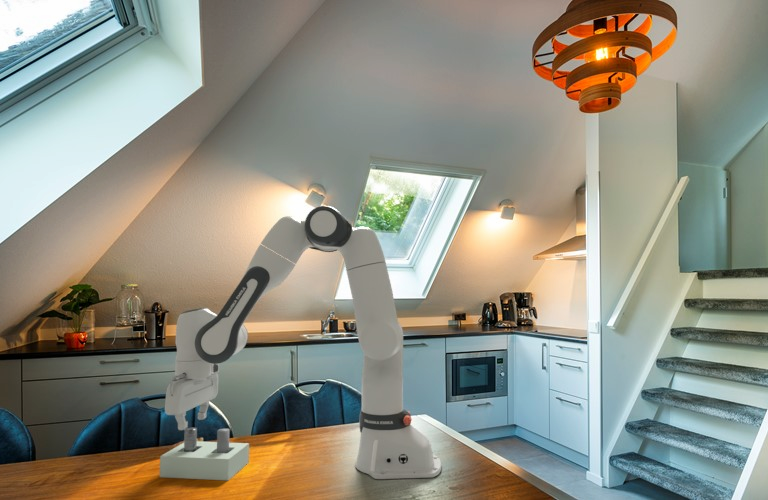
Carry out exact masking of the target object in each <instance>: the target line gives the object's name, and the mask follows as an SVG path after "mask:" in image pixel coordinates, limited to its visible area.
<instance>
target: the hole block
mask: <svg viewBox="0 0 768 500" xmlns="http://www.w3.org/2000/svg"><path fill="white" fill-rule="evenodd" d="M216 434H217V435H216V441H204V442H202V441H197V446H196V451H195V452H184V443H182V444H180V445H179V446H177V447H175V448H174V449H172V450H170V451H169V450H168V451H167V452H165V453H164V454H163V453H162V454H161V455H160V456H159V478H167V479H168V478H169V479H170V478H171V479H173V478H174V479H190V480H214V481H230V480H231V479H232V478H233V477H234V476H235V475H236V474H237V473H239V472H240V471H241V470H242V469H243V468H244V467H245V466H247V465H248V464H249V462H250V443H248V442H245V443H244V442H230V428H219V429H218V430H217V431H216ZM246 464H247V465H246Z"/></svg>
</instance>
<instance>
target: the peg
mask: <svg viewBox="0 0 768 500" xmlns="http://www.w3.org/2000/svg"><path fill="white" fill-rule="evenodd" d="M183 435H184V436H183V437H184V439H183V441H184V452H195V451H196V446H197V437H198V427H187V428H186V429H184V434H183Z"/></svg>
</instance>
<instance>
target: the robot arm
mask: <svg viewBox="0 0 768 500" xmlns="http://www.w3.org/2000/svg"><path fill="white" fill-rule="evenodd" d="M307 249H312V250H315V251H320V252H323V253H334V252H336V251H338V252H339V253H340V255H341V256H342V258H343V261H344V262H343V263H344V266H345V270H346V275H347V279H348V285H349V288H350V292H351V293H350V294H351V299H352V303H353V305H352V306H353V312H354V320H355V328H356V333H357V337H358V343H359V344H358V345H359V347H360V349H361V351H362V352H363V358H362V359H363V361H362V362H363V363H362V373H361V374H362V375H361V409H360V411H359V418H358V419H359V432H360V437H359V438H360V439H359V447H358V453H357V457H356V461H355V464H354V466H355V468H356V469H357V470H358V471H360V472H362V473H364V474H367V475H369V476H370V477H371V478H372V479H376V480H387V479H388V480H390V479H393V480H395V479H417V478H419V479H422V478H424V479H425V478H435V477H436V476H438V475H439V474H440V473H441V472H442V461H441V458H439V457H438V455H435V454H433V449H432V444H431V442H430V439H428V437H427V436H426V435H424V434H423V433H422V432H420V431H419V430H418V429H417V428H416V427H414V426H413V425H412V424H411V423H412V415H411V412H410V410H408V411H407V410H405V409H404V398H403V397H404V389H403V388H404V385H403V384H404V330H403V327H402V325H401V323H400V322H399V319H398V315H397V309H396V304H395V299H394V294H393V288H392V284H391V280H390V274H389V271H388V267H387V262H386V257H385V255H384V251H383V248H382V246H381V243H380V241H379V238H378V236H377V234H376V231H374V230H373V229H372V228H370V227H366V226H358V227H353V226H352V224H351V223H350V221H349V220H348V219H347V218H346V217H345V216H344V215H343V214H342V212H341V211H339V210H338V209H336V208H335V207H333V206H330V205H319V206H317V207H315V208H313V209H312V210H310V212H309V213H308V214H307V215H306V217H305V220H301V219H299V218H297V217H294V216H290V215H289V216H288V215H287V216H286V215H285V216H283V217H281V218H279V220H278V221H277V222H276V223H274V225H273V226H272V227H271V228H270V229H269V231H268V232H267V233H266V235H265V236H264V238H263V239H262V241H261V242H260V244H259V246H258V247H257V249H256V251H255V253H254V255H253V256H252V258H251V260H250V262H249V264H248V267H247V269H246V270H245V272H244V274H243V275H242V278H241V280H240V282H239V283H238V285H237V286H236V288H235V289H234V290H233V291H232V293H231V295H230V296H229V298H228V299H227V301H226V303H225V304H224V306H223V307H222V308H221V310H220V311H219V313H218V314H217V313H215V312H213V311H212V310H210V308H207V307H198V308H194V309H189V310H188V309H187V310H185V311H183V312H181V314H179V316H178V318H177V320H176V326H175V327H176V329H175V346H176V355H175V359H174V362H175V363H174V367H175V368H174V375H173V377H172V378H171V380H170V382H169V384H168V386H167V388H166V393H165V402H164V412H165V414H166V415H167V416H174V417H175V418H174V419H175V420H176V422H177V429H178V431H185V429H187V428H189V426H188V425H189V422H188V420H186V416H187V412H188V411H190V410H192V409H194V408H196V407H198V406H199V410H198V411H199V412H197V419H198V420H199V421H203V420H205V419H206V418H207V413H208V412H207V411H208V409H209V406H210V401H212V400H213V399H216V397H217V395H218V392H219V374H218V373H219V372H220V364H222V363H224V362H226V361H228V360H229V359H230V358H231V357H234V356H235V355H236V354H238V353H239V352H241V351H242V350H243V349H244V348H245V347H246V345H247V343H248V340H249V334H248V330H247V328H246V327H245V325H244V323H245V321H246V320H247V319H248V317H249V316H250V314H251V313H252V311H253V309H254V307H255V306H256V305H257V303H258V302H259V301H260V300H261V298H263V297H264V295H266V294H267V293H268V292H270V291H271V290H273V289H275V288H277V287H279V286H280V285H281V284H282V283H283V282H284V281H285V280H286V279H287V278H288V276H289V275H290V274H291V272H292V271H293V270H294V269H295V266H296V264H297V263H298V262H299V260H300V259H301V256H302V255H303V253H305V251H306V250H307Z"/></svg>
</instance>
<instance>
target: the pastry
mask: <svg viewBox="0 0 768 500" xmlns="http://www.w3.org/2000/svg"><path fill="white" fill-rule="evenodd" d="M197 441H202V442H205V441H204V437H199V438H197ZM182 443H184V440H183V441H178V442H177V443H175V444H173V445H171V446H170V447H169V448H168V451H170V450H172V449H174V448H175V447H177V446H179V445H180V444H182Z"/></svg>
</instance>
